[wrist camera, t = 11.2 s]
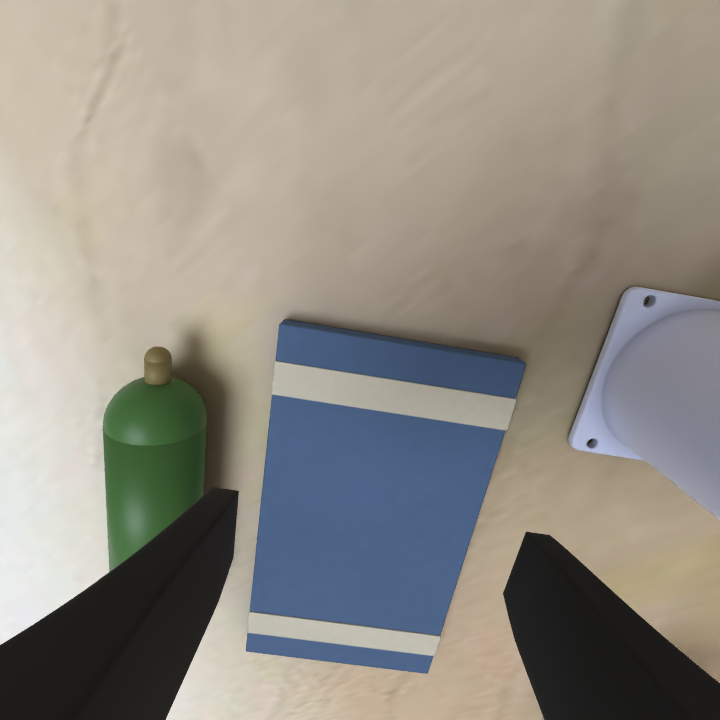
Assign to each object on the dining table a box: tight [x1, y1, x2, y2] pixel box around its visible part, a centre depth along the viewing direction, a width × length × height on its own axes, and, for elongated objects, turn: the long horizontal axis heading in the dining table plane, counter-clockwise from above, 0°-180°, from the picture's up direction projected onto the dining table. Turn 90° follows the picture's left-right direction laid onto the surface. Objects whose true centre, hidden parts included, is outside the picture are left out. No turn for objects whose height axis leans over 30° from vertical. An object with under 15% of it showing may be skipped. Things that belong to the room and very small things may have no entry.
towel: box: [246, 319, 526, 674], centre depth 20 cm, size 11×20×1 cm, turn 171°
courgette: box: [103, 347, 207, 571], centre depth 18 cm, size 15×4×4 cm, turn 170°
